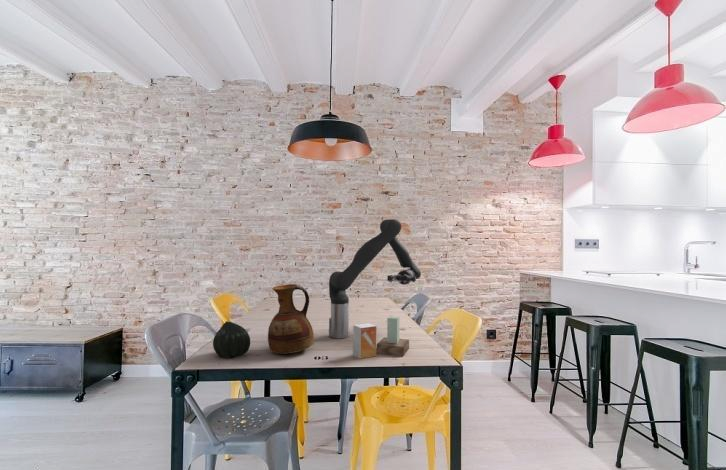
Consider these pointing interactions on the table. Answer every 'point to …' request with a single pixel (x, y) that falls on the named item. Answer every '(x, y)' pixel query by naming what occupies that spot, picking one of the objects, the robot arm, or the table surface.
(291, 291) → the ceramic pitcher
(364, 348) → the small box
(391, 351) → the walnut base block
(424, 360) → the table surface
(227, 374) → the table surface
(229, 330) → the squash
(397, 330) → the sage block
